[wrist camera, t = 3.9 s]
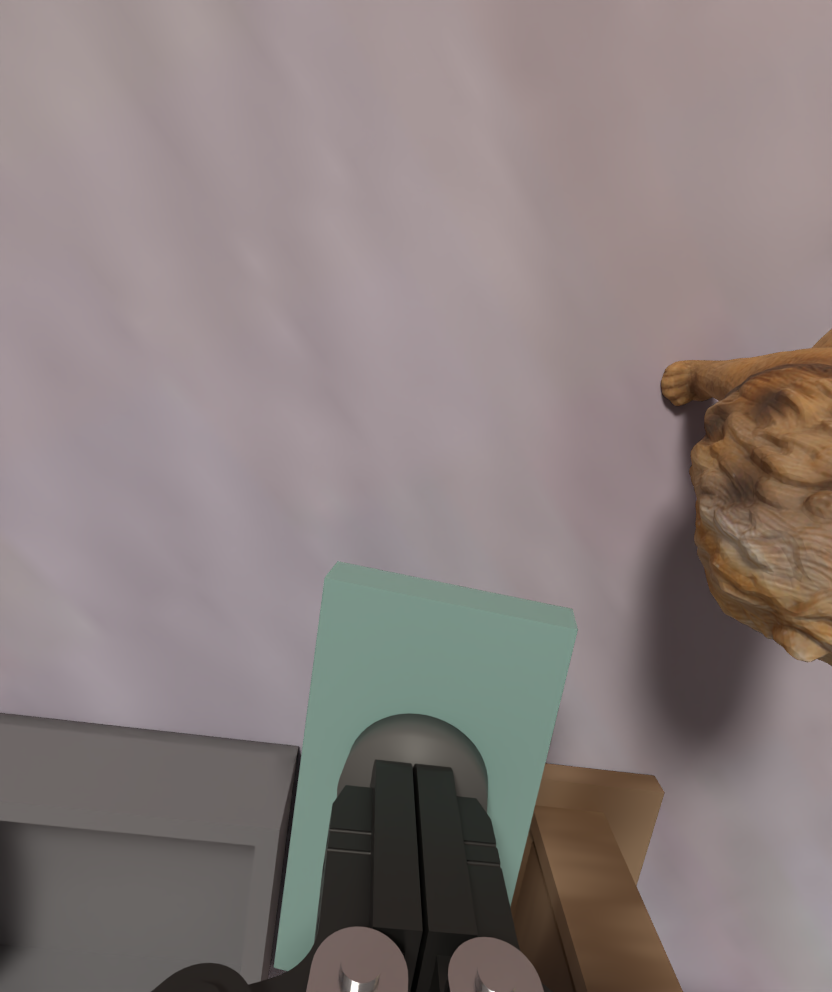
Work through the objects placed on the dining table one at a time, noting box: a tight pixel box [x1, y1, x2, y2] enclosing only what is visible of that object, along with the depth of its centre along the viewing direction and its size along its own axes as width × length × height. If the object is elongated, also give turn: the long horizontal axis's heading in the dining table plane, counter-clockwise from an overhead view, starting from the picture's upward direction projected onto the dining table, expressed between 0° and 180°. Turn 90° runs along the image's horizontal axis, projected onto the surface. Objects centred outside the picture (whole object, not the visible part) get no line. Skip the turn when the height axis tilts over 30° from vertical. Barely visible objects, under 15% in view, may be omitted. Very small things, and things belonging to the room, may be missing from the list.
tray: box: [0, 713, 298, 992], centre depth 18 cm, size 10×9×5 cm
